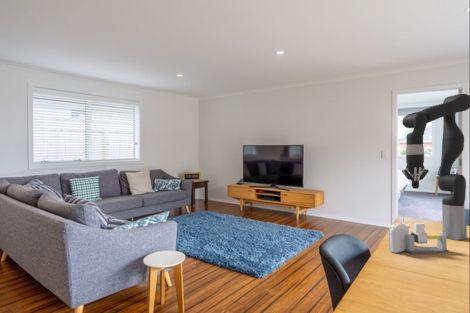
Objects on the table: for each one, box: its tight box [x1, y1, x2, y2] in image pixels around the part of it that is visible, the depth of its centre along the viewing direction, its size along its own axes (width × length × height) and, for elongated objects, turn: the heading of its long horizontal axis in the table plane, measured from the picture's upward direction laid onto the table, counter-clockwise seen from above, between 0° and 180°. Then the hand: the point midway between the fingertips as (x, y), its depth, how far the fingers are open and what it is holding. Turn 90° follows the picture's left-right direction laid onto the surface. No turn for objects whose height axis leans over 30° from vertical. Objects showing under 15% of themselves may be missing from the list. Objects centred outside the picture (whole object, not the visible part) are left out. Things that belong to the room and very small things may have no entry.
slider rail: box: [404, 232, 449, 255], centre depth 129 cm, size 17×5×8 cm, turn 93°
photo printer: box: [388, 222, 407, 254], centre depth 131 cm, size 10×4×12 cm, turn 124°
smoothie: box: [402, 215, 411, 234], centre depth 139 cm, size 6×6×14 cm
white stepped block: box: [411, 222, 428, 245], centre depth 129 cm, size 4×4×8 cm
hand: (415, 188), depth 142 cm, fingers closed
